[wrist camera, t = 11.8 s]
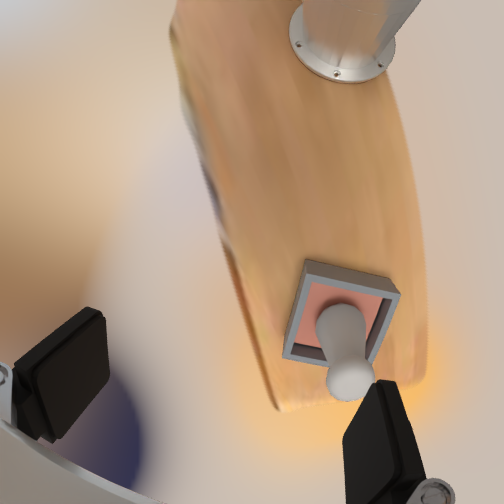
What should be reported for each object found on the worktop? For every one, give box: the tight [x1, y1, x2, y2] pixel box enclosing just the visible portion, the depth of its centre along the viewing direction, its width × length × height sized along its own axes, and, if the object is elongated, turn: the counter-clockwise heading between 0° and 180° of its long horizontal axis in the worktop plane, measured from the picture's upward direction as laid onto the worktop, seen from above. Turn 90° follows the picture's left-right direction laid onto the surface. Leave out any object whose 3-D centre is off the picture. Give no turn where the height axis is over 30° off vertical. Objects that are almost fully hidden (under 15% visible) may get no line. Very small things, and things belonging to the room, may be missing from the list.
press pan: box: [294, 282, 383, 348], centre depth 36 cm, size 9×9×1 cm
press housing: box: [282, 259, 401, 367], centre depth 36 cm, size 11×11×5 cm
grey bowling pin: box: [315, 302, 375, 402], centre depth 29 cm, size 6×6×13 cm
